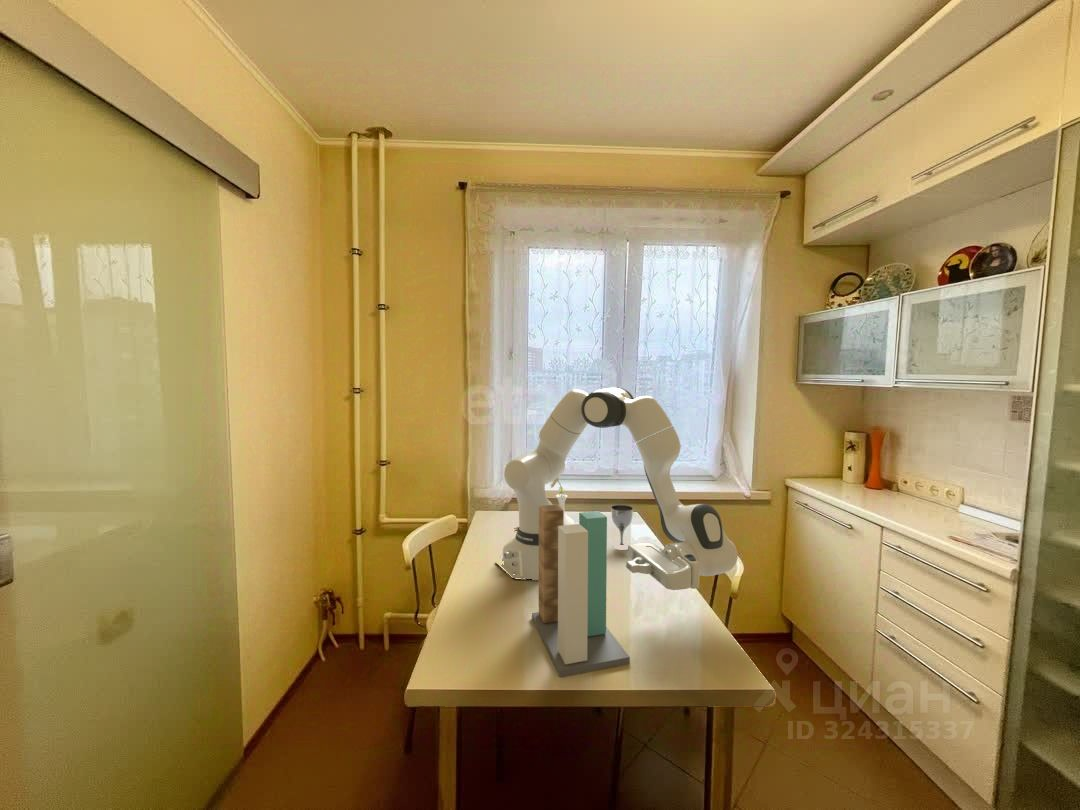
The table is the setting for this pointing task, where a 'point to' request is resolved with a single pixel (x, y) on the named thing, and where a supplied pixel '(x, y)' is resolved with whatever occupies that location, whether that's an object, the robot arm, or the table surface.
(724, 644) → the table surface
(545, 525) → the walnut post
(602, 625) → the teal post
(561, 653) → the cream post
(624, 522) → the wine glass
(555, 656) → the board
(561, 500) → the flower in vase
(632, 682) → the table surface
